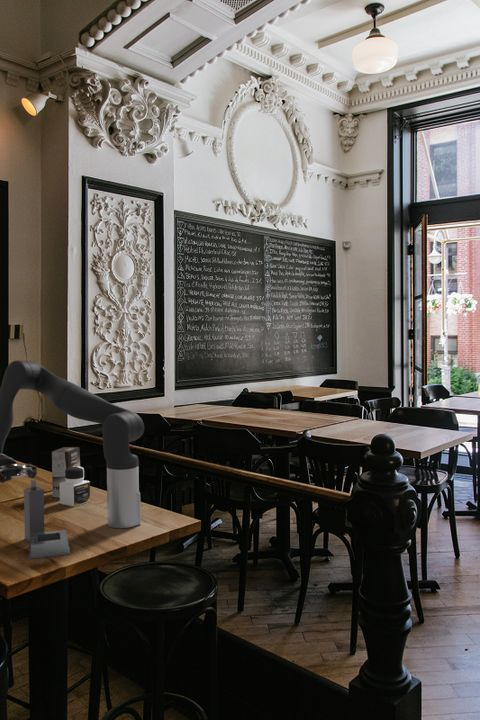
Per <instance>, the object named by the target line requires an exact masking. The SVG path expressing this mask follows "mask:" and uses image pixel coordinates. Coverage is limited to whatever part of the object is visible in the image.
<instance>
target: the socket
mask: <svg viewBox="0 0 480 720" xmlns="http://www.w3.org/2000/svg"><path fill="white" fill-rule="evenodd" d="M68 539H69V538H68V534H67V530H66V529H64V530H63V529H62V530H55V531H54V530H53V531H45V532H42V533H33V534H31V543H29V544H28V559H29V560H33V559H41V558H50V557H51V558H52V557H58V556H65V555H66V556H68V555H71V549H70V544H69V540H68Z"/></svg>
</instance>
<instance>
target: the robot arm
mask: <svg viewBox="0 0 480 720" xmlns="http://www.w3.org/2000/svg"><path fill="white" fill-rule="evenodd" d="M2 378H3V379H2V382H1V386H0V483H2V484H4V483H6V482H8V481H10V480H12V479H13V478H24V477H27V478H30V479H35V478H36V476H37V475H38V472H37V471H38V466H36V465H33V464H32V463H26V464H24V465H23V464H22V465H21V464H18V463H17V462H16V459H14V458H12V457H10V456H8V455H6V454H4V453H3V451H4V446H5V442H6V439H7V437H8V435H9V433H10V431H11V429H12V426H13V423H14V408H13V407H14V401H15V399H16V396H17V394H18V392H19V391H20V390H32V391H35V392H39V393H41V394H43V395H45V396H47V397H48V398H49V400H50V401H51V402H52V403H51V404H53V406H54V407H56V408H57V410H59V411H61V412H63V413H65V414H67V415H68V416H70V417H73V418H75V419H78V420H82V421H86V422H90V423H91V422H92V423H96V424H100V425H102V446H103V447H102V449H103V457H104V459H105V462H106V487H107V488H106V497H107V498H106V501H107V503H106V505H107V510H106V511H107V526H108V527H110V528H113V529H128V528H133V527H135V526H139V525H141V523H142V522H141V520H142V519H141V518H142V517H141V492H140V489H139V488H140V487H139V486H140V484H139V483H140V482H139V475H140V474H139V456H138V455H136V454H134V453H131V451H130V450H131V449H130V443H132V442H134V441H135V442H136V440H138V439H140V438H141V437H142V436H143V434H144V433H145V424H144V422H143V419H142V418H141V416H139V414H137V413H136V412H134V411H132V410H129V409H126V408H124V407H121V406H118V405H116V404H113V403H112V402H110V401H108V400H106V399H103V398H102V397H100V396H98V395H96V394H94V393H92V392H90V391H89V390H88V389H85V388H83V387H81V386H79V385H77V384H75V383H74V382H71V381H69V380H68V379H65V378H63V377H59V376H58V375H56V374H54V373H53V372H51V371H50V370H49V369H47V368H45V367H44V366H42V365H41V363H38V362H34V361H30V360H29V361H28V360H14V361H11V362H10V363H9V364H8V365H7V367H6V369H5V371H4V375H3V377H2Z"/></svg>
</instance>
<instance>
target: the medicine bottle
mask: <svg viewBox="0 0 480 720" xmlns="http://www.w3.org/2000/svg"><path fill="white" fill-rule="evenodd" d="M84 478H85V469H84V467H82V466H80V467H79V466H74V467H69V468H67V469H66V470H65V480H66V481H65V482H61V483H60V497H59V504H61V505H64V506H67V507H68V506H69V507H79V506H80V505H85V504H86V503H89V502H91V484H90V483H91V481H89V480H84Z"/></svg>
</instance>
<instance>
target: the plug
mask: <svg viewBox="0 0 480 720" xmlns="http://www.w3.org/2000/svg"><path fill="white" fill-rule="evenodd" d="M44 494H45V489H44V488H42V487H40V486H37V479H32V480H30V487H27V488H23V503H24V505H23V509H24V511H23V512H24V513H23V514H24V540H26V541H27V542H28V543H29V544H31V534H33V533H42V532H46V531H45V495H44Z"/></svg>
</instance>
